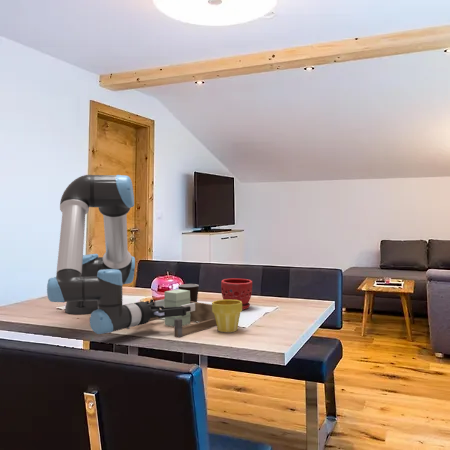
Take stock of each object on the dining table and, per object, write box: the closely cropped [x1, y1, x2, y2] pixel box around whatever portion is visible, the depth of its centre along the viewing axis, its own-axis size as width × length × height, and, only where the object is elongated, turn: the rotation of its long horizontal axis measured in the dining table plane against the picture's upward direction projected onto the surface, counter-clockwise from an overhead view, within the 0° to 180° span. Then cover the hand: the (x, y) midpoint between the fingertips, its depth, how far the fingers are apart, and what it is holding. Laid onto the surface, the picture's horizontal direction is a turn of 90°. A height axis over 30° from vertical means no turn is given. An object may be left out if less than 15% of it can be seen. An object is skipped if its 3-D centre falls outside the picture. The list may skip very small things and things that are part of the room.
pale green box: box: [163, 288, 191, 328], centre depth 167 cm, size 6×7×12 cm
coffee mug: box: [177, 283, 200, 302], centre depth 194 cm, size 12×9×10 cm
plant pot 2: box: [211, 299, 243, 333], centre depth 157 cm, size 10×10×10 cm
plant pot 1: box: [220, 277, 253, 311], centre depth 194 cm, size 13×13×12 cm
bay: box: [149, 301, 217, 338], centre depth 165 cm, size 27×21×7 cm
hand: (181, 304), depth 168 cm, fingers open, 13 cm apart
